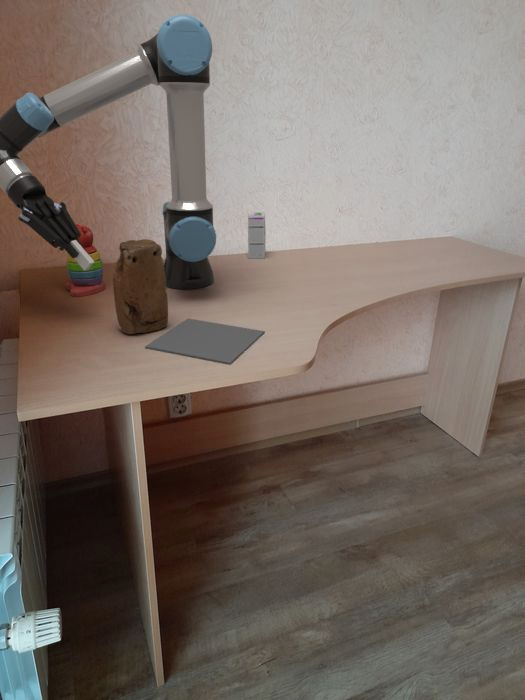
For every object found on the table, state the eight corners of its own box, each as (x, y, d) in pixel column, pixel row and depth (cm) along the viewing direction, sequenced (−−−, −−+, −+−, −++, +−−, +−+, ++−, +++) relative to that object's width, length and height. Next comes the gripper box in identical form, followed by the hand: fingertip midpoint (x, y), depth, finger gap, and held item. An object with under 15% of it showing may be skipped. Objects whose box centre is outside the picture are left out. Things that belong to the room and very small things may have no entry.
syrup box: (265, 258, 180) (265, 215, 174) (247, 258, 180) (247, 215, 174) (265, 254, 185) (265, 212, 179) (248, 254, 185) (248, 212, 179)
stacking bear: (64, 287, 150) (54, 223, 143) (100, 282, 155) (92, 220, 147) (72, 298, 142) (62, 231, 134) (109, 292, 146) (102, 227, 139)
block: (156, 318, 128) (149, 236, 120) (172, 328, 123) (166, 242, 115) (114, 329, 122) (104, 242, 113) (129, 339, 116) (120, 249, 108)
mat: (187, 319, 128) (187, 318, 127) (264, 332, 121) (264, 331, 120) (145, 348, 112) (145, 346, 112) (230, 364, 106) (230, 362, 105)
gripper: (35, 193, 127) (100, 269, 128) (-10, 200, 116) (61, 283, 117) (49, 171, 123) (115, 249, 124) (4, 176, 112) (77, 263, 113)
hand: (89, 266), depth 120 cm, fingers closed
